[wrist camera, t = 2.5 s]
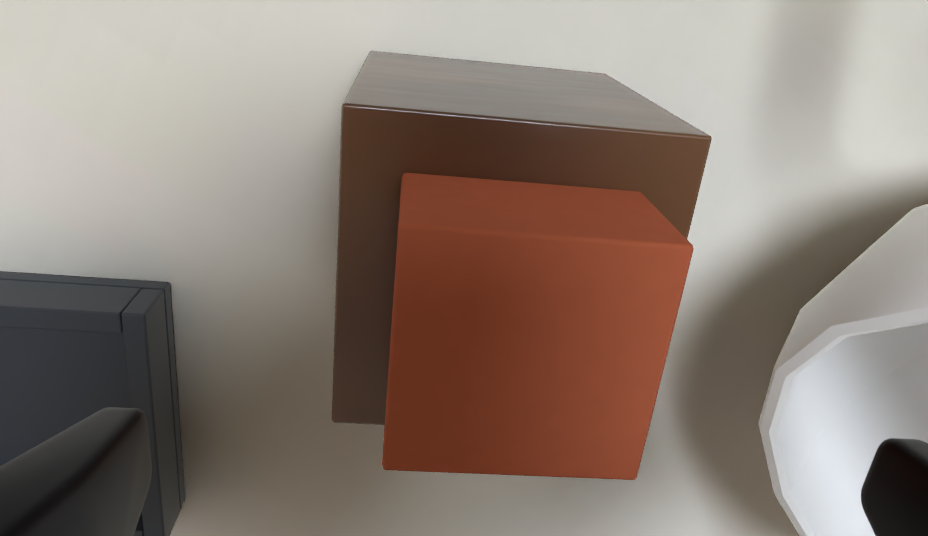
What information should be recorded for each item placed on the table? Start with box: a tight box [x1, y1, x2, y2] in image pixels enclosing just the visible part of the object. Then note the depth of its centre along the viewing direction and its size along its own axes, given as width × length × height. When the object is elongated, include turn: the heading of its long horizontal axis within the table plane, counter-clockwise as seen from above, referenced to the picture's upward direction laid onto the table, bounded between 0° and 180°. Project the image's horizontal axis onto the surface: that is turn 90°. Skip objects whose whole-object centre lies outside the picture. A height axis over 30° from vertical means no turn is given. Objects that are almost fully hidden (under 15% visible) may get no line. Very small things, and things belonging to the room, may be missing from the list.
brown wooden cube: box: [332, 51, 711, 425], centre depth 15 cm, size 6×6×7 cm
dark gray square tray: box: [0, 272, 185, 536], centre depth 20 cm, size 8×8×2 cm
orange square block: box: [382, 173, 693, 480], centre depth 11 cm, size 4×4×2 cm
